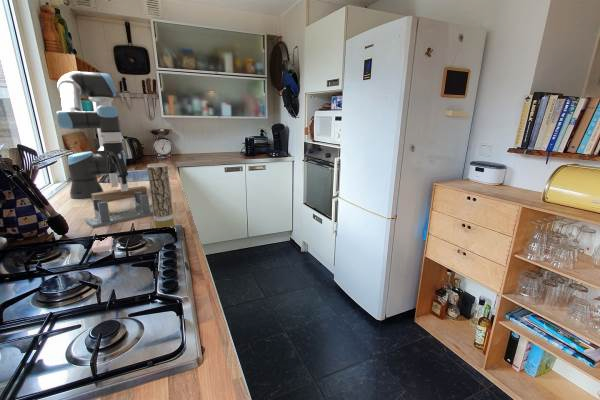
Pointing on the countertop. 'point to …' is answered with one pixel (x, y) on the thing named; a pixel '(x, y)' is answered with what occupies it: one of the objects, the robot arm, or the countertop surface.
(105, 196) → the walnut rail
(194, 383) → the countertop surface
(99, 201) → the cup bracket
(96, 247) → the soap bar
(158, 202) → the bark textured post
